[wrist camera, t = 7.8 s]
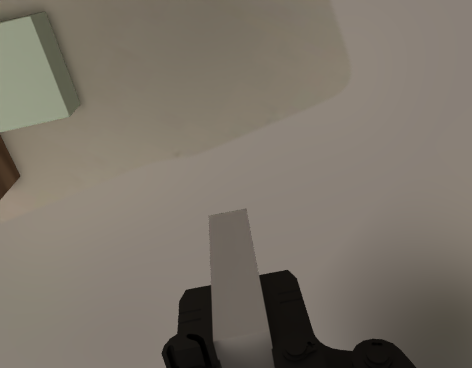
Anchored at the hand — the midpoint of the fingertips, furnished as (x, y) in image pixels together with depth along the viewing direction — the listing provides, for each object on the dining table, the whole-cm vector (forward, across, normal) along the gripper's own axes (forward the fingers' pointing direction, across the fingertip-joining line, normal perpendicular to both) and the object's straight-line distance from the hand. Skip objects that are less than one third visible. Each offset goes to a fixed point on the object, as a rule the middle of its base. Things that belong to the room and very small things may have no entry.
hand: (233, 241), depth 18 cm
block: (+25, -16, +5) cm, 30 cm away
